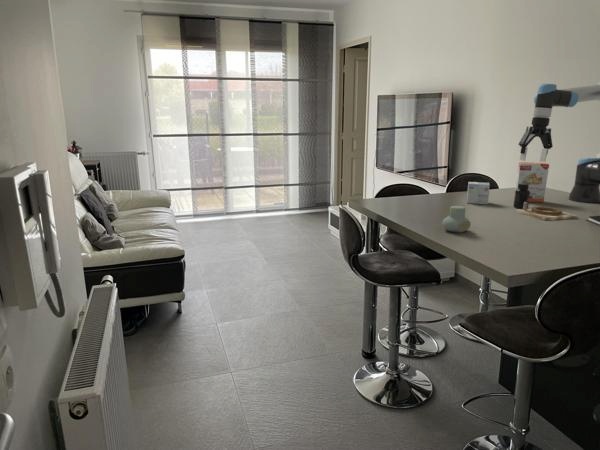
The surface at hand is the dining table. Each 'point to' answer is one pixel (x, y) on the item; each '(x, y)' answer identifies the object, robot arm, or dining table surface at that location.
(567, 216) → the seat plate
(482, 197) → the light bulb box
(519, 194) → the supplement bottle
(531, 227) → the dining table surface
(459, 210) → the air freshener
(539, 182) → the cracker box
